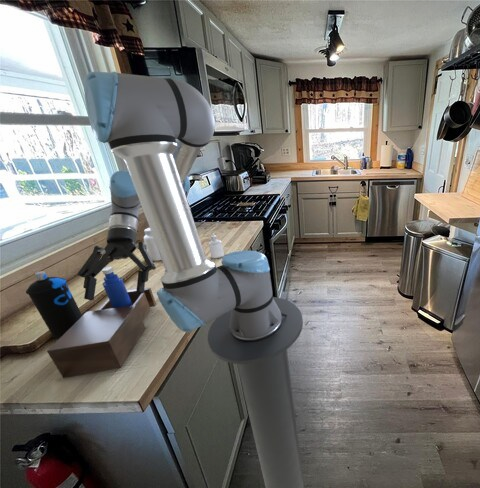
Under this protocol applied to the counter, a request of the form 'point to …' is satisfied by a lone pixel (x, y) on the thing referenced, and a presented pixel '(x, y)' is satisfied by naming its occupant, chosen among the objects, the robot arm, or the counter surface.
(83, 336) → the cabinet
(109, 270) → the bottle
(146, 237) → the pill bottle
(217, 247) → the eye dropper bottle
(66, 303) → the aerosol can
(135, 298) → the drawer
